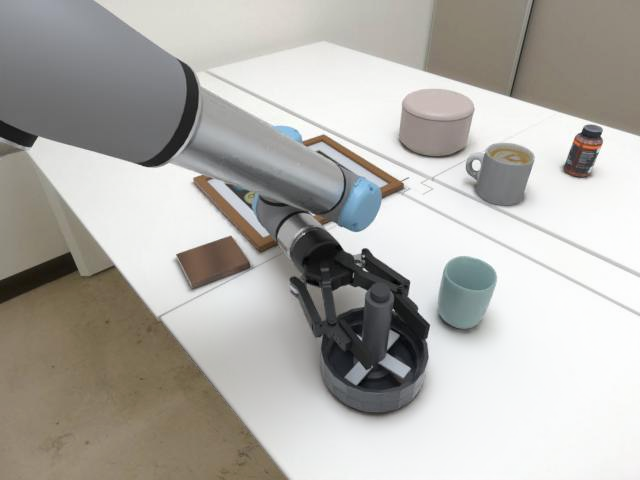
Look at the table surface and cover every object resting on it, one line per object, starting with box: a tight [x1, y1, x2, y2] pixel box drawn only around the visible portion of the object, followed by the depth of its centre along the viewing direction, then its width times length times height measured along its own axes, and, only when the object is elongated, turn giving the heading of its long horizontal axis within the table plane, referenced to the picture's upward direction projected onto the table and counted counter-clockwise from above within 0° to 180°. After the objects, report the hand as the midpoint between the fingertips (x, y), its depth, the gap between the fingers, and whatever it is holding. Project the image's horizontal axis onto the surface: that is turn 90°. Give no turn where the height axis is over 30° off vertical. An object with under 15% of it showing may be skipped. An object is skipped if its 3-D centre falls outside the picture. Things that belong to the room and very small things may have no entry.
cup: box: [437, 255, 498, 330], centre depth 71 cm, size 8×8×10 cm
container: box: [398, 88, 476, 157], centre depth 118 cm, size 18×18×12 cm
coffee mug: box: [465, 142, 536, 206], centre depth 101 cm, size 13×10×10 cm
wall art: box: [192, 133, 405, 253], centre depth 105 cm, size 31×2×38 cm
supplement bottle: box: [563, 123, 604, 178], centre depth 106 cm, size 6×6×11 cm
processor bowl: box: [320, 306, 430, 414], centre depth 65 cm, size 15×15×6 cm
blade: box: [344, 283, 411, 385], centre depth 61 cm, size 11×11×16 cm
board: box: [175, 235, 251, 290], centre depth 85 cm, size 11×9×2 cm
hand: (398, 347), depth 57 cm, fingers open, 8 cm apart
